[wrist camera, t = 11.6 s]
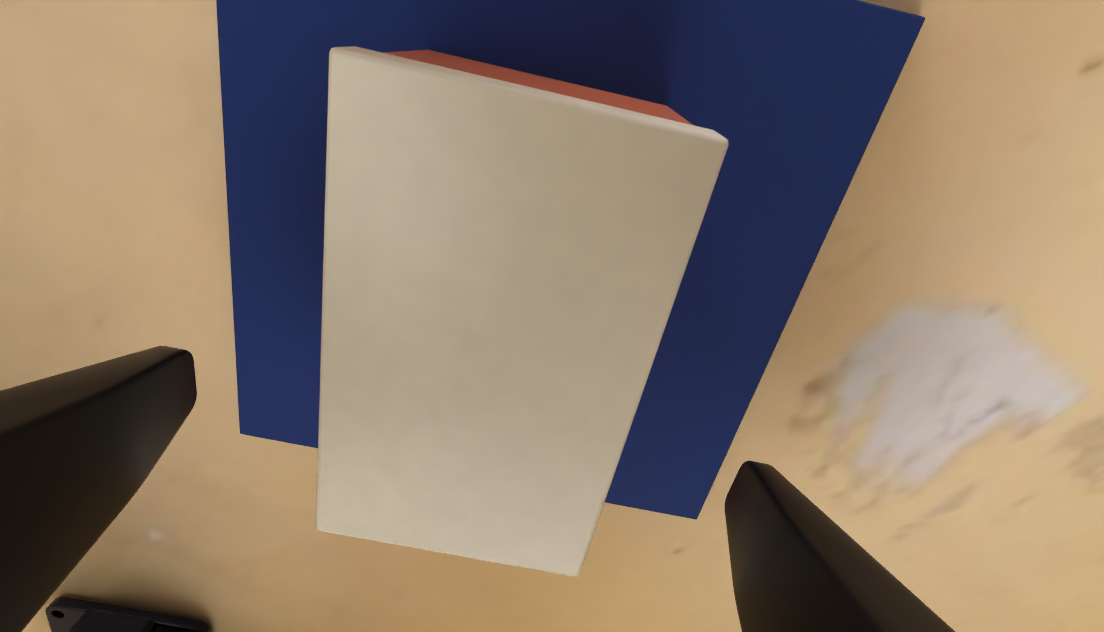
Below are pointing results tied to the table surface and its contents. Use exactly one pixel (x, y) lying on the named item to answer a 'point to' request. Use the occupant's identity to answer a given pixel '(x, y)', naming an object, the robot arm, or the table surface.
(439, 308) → the box
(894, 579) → the robot arm
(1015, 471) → the table surface
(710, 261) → the blue cloth
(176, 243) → the table surface
